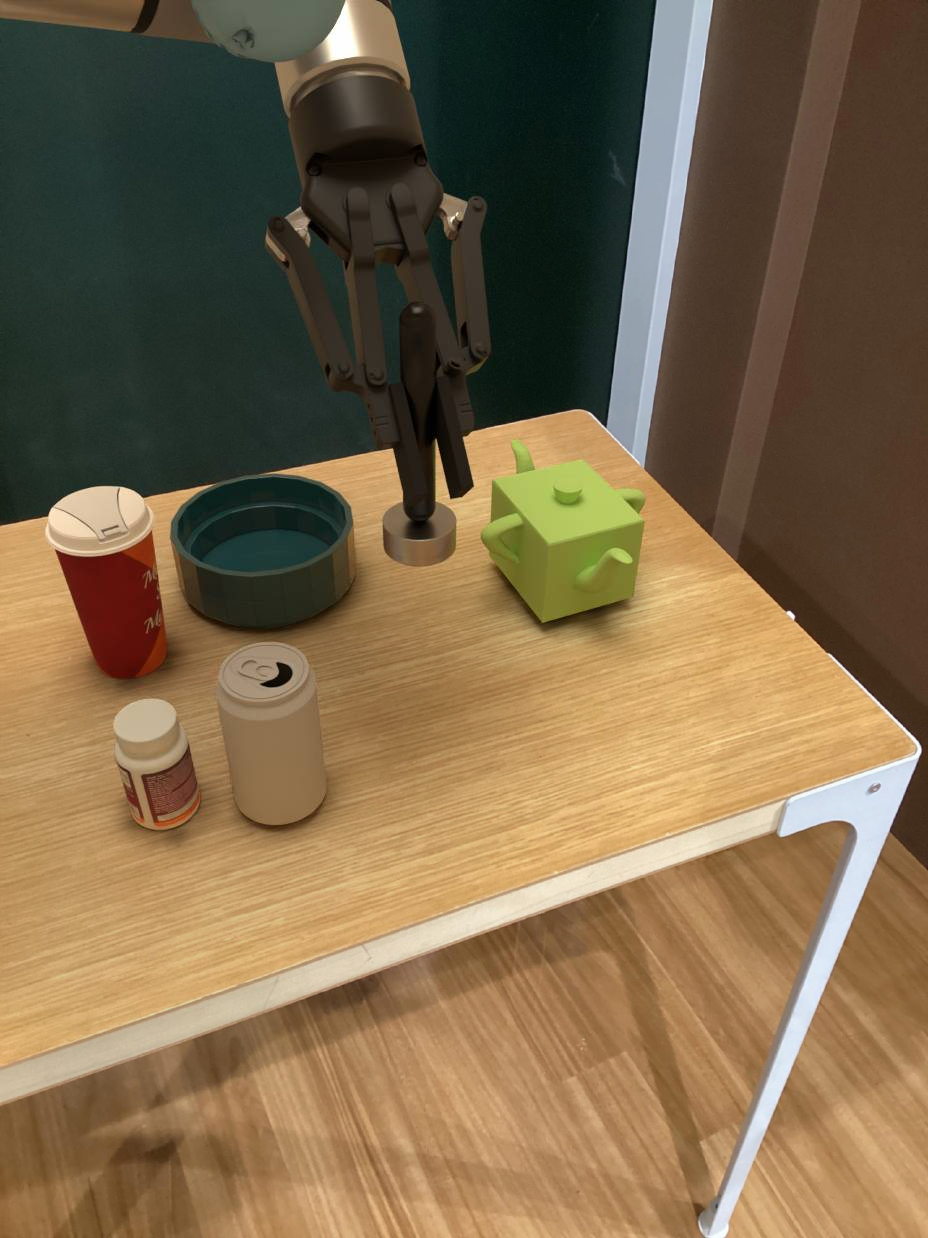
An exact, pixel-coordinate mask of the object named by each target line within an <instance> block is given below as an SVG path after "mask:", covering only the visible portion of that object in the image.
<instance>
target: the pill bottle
mask: <svg viewBox="0 0 928 1238" xmlns="http://www.w3.org/2000/svg"><path fill="white" fill-rule="evenodd" d="M112 728H113V729H112V730H113V732H114V733H113V734H114V737H115V744H114V749H113V754H114V759H115V762H116V765H117V770H118V772H119V773H118V774H119V776H120V779H121V783H122V786H123V790H124V793H125V797H126V800H127V803H128V807H129V810H130V813H131V816H132V818H133V820H134V821H135V822H136V823H137V824H138V825H140V826H141V827H144V828H146V829H149V830H155V831H165V830H169V829H170V830H171V829H173V828H176V827H178V826H180V825H183V824H184V823H186V822H188V821H189V820H190V819H191V818H192V816H194V814H195V813H196V812H197V810H198V808H199V806H200V803H201V791H200V787H199V783H198V782H199V781H198V780H197V779H198V778H197V774H196V770H195V769H196V768H195V765H194V760H193V756H192V751H191V745H190V741H189V737H188V733H187V732H186V730H185V728H184V726H182V725H181V724H180V720H179V718H178V714H177V712H176V709H175V707H174V706H173V705H172V704H171V703H170V702H168V701H167V700H164V699H160V698H143V699H139V700H135V701H133V702H130V703H128V704H126V705H125V706H124V707H122V709H120V711H118V712H117V714H116V715H115V717H114V720H113V723H112Z"/></svg>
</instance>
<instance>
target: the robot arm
mask: <svg viewBox="0 0 928 1238" xmlns="http://www.w3.org/2000/svg"><path fill="white" fill-rule="evenodd" d="M0 19H8V20H16V21H17V20H18V21H27V22H37V23H44V24H45V23H46V24H52V25H53V24H54V25H62V26H63V25H64V26H73V27H83V28H91V29H101V30H109V31H110V30H111V31H118V32H124V33H131V34H136V35H142V36H147V37H153V38H154V37H155V38H163V39H174V40H181V41H182V40H183V41H191V42H200V43H208V44H213V45H216V46H218V47H219V48H221V50H225V51H227V52H228V53H229V54H230V55H233V56H234V57H238V58H242V59H253V60H256V61H260V62H266V63H273V64H274V68H275V71H276V76H277V81H278V86H279V90H280V95H281V101H282V104H283V110H284V112H285V114H286V116H287V118H288V123H287V124H288V125H287V127H288V132H289V136H290V141H291V144H292V145H291V146H292V150H293V154H294V158H295V162H296V167H297V172H298V176H299V181H300V185H301V193H300V196H299V201H298V207H297V208H296V209H294V210H293V211H292V212H290V213H289V214H287V215H286V216H283V215H282V216H281V215H274V216H271V217H270V219H268V222H267V227H266V234H265V241H264V248H265V250H266V251H267V253H268V254H269V255H270V257H271V258H272V259H273V260H274V261H275V263H276V264H277V265H278V266H279V267H280V268H281V270H282V271H283V272H284V273H285V275H286V278H287V280H288V283H289V285H290V288H291V291H292V294H293V297H294V299H295V301H296V304H297V306H298V309H299V311H300V315H301V317H302V320H303V322H304V325H305V328H306V330H307V333H308V336H309V338H310V341H311V344H312V346H313V349H314V352H315V355H316V358H317V359H318V363H319V365H320V368H321V370H322V373H323V375H324V378H325V381H326V384H327V386H328V388H329V390H332V392H335V393H342V392H344V391H345V392H350V393H354V394H357V395H358V397H359V398H360V400H361V401H363V402H364V405H365V408H366V412H367V418H368V421H369V426H370V430H371V435H372V438H373V443H374V445H375V446H376V448H377V449H378V450H379V451H384V450H385V451H387V450H391V449H392V451H393V455H394V459H395V460H394V461H395V464H396V468H397V473H398V478H399V483H400V487H401V490H402V496H403V495H404V500H405V504H406V507H411V506H416V505H419V504H420V503H421V502H422V501H423V500H424V499H425V498H426V497H427V496H428V495H429V493H428V489H427V484H426V480H425V476H424V471H423V467H422V463H421V458H420V454H419V450H418V445H417V441H416V437H415V432H414V428H413V423H412V419H411V415H410V410H409V406H408V402H407V397H406V393H405V389H404V384H403V382H401V383H400V382H396V383H390V384H389V382H388V378H389V372H388V364H387V356H386V348H385V340H384V332H383V324H382V317H381V308H380V301H379V294H378V285H377V276H376V266H377V265H379V264H387V265H393V268H394V270H395V273H396V276H397V279H398V281H399V282H401V283H402V287H403V289H404V292H405V295H406V298H407V301H408V304H409V303H412V302H423V303H425V304H427V305H428V306H430V307H431V308H432V310H433V312H434V314H435V318H436V444H437V448H438V452H439V453H438V454H439V456H440V461H441V465H442V471H443V474H444V478H445V482H446V487H447V491H448V496H449V500H454V499H461V498H463V497H465V496H466V495H467V494H468V493H469V492H470V491H471V490H472V489H473V488H475V483H474V479H473V475H472V470H471V465H470V462H469V458H468V454H467V449H466V445H465V441H464V438H465V437H466V438H467V437H468V436H470V434H471V433H472V432H473V431H474V429H475V423H476V419H475V415H474V411H473V406H472V403H471V398H470V397H471V396H470V393H469V388H468V386H467V385H468V384H467V379H466V378H467V376H469V375H470V374H473V373H476V372H478V371H479V369H480V368H481V367H482V366H483V364H484V363H485V362H486V360H487V359H488V358H489V357H490V355H491V353H492V342H491V332H490V331H491V330H490V321H489V311H488V301H487V292H486V291H487V290H486V280H485V272H484V261H483V259H484V258H483V249H482V240H481V233H482V230H483V226H484V222H485V219H486V215H487V212H488V203H487V201H486V199H484V198H483V197H481V196H478V195H474V196H472V197H469V199H468V201H467V200H465V199H464V200H463V199H462V198H458V197H456V196H453V195H451V194H449V193H445V192H444V187H443V184H442V182H441V181H440V180H439V178H438V177H437V176H436V175H435V173H433V171H432V169H431V166H430V163H429V159H428V154H427V148H426V145H425V140H424V135H423V131H422V126H421V123H420V118H419V114H418V110H417V106H416V101H415V98H414V96H413V93H412V92H411V91H410V89H411V78H410V75H409V70H408V66H407V63H406V59H405V55H404V51H403V46H402V42H401V39H400V35H399V31H398V27H397V22H396V19H395V16H394V12H393V6H392V1H391V0H0ZM436 216H438V217H439V218H440V219H441V221H442V223H443V232H444V234H445V236H446V237H447V239H448V240H452V241H451V246H450V247H451V248H450V263H451V273H452V284H453V285H452V286H453V294H454V295H453V296H454V305H455V316H456V317H455V318H456V326H457V327H456V328H457V335H456V334H455V330H454V328H453V325H452V321H451V318H450V316H449V313H448V310H447V306H446V304H445V301H444V298H443V295H442V292H441V289H440V286H439V283H438V280H437V276H436V275H435V270H434V269H433V265H432V262H431V252H430V251H431V250H430V247H429V244H428V241H427V236H428V233H429V231H430V229H431V227H432V225H433V223H434V220H435V218H436ZM309 230H310V231H311V232H312V234H314V235H315V236H316V237H317V238H318V239H319V240H320V241H322V242H323V243H324V244H325V245H326V246H327V247H328V248H329V249H330V250H331V251H332V252H333V253H334V254H335V255H336V256H337V257H338V258H339V259H341V260H342V268H343V275H344V276H343V277H344V283H345V286H346V288H347V296H348V301H349V311H350V318H351V328H352V335H353V342H354V351H355V358H356V362H353V359H352V357H351V354H350V351H349V349H348V346H347V344H346V340H345V338H344V335H343V333H342V330H341V327H340V324H339V322H338V319H337V317H336V314H335V311H334V308H333V306H332V304H331V301H330V298H329V295H328V293H327V290H326V287H325V284H324V283H323V280H322V277H321V275H320V274H321V273H320V272H319V269H318V267H317V266H318V265H317V264H316V260H315V258H314V256H313V253H312V251H311V250H310V247H311V242H312V238H311V234H310V232H309ZM456 336H457V337H456ZM457 338H458V340H457Z"/></svg>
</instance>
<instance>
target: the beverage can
mask: <svg viewBox="0 0 928 1238" xmlns="http://www.w3.org/2000/svg"><path fill="white" fill-rule="evenodd" d="M316 677H317V676H316V673H315V671H314V670H313V668H312V667H311V666H310V664H309V661H308V659H307V657H306V656H305V654H304V653H303V652H302V651H300V650H299V648H297V647H295V646H293V645H291V644H288V643H285V642H280V641H279V642H278V641H261V642H255V643H250V644H248V645H245V646H242V647H240V648H238V649H236V650H234V651H233V652H232V653H230V654H229V655H228V656H227V657H226V658H225V659H224V660H223V662H222V663H221V665H220V667H219V670H218V678H217V681H216V683H215V687H214V694H215V698H216V700H215V701H216V705H217V710H218V716H219V721H220V722H219V723H220V726H221V732H222V737H223V744H224V749H225V755H226V760H227V766H228V771H229V775H230V782H231V787H232V792H233V798H234V802H235V804H236V806H237V808H238V810H239V811H240V812H241V813H242V814H243V815H244V816H245V817H247V818H248V819H249V820H252V821H254V822H256V823H259V824H263V825H269V826H283V825H288V824H292V823H295V822H298V821H300V820H302V819H304V818H306V817H308V816H309V815H311V814H312V813H313V812H314V811H315V810H317V808H318V807H319V806H321V804H322V802H323V800H324V798H325V796H326V793H327V786H328V785H327V784H328V783H327V774H326V765H325V764H326V763H325V753H324V752H325V751H324V744H323V734H322V726H321V725H322V723H321V715H320V712H321V711H320V703H319V693H318V683H317V678H316Z"/></svg>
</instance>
